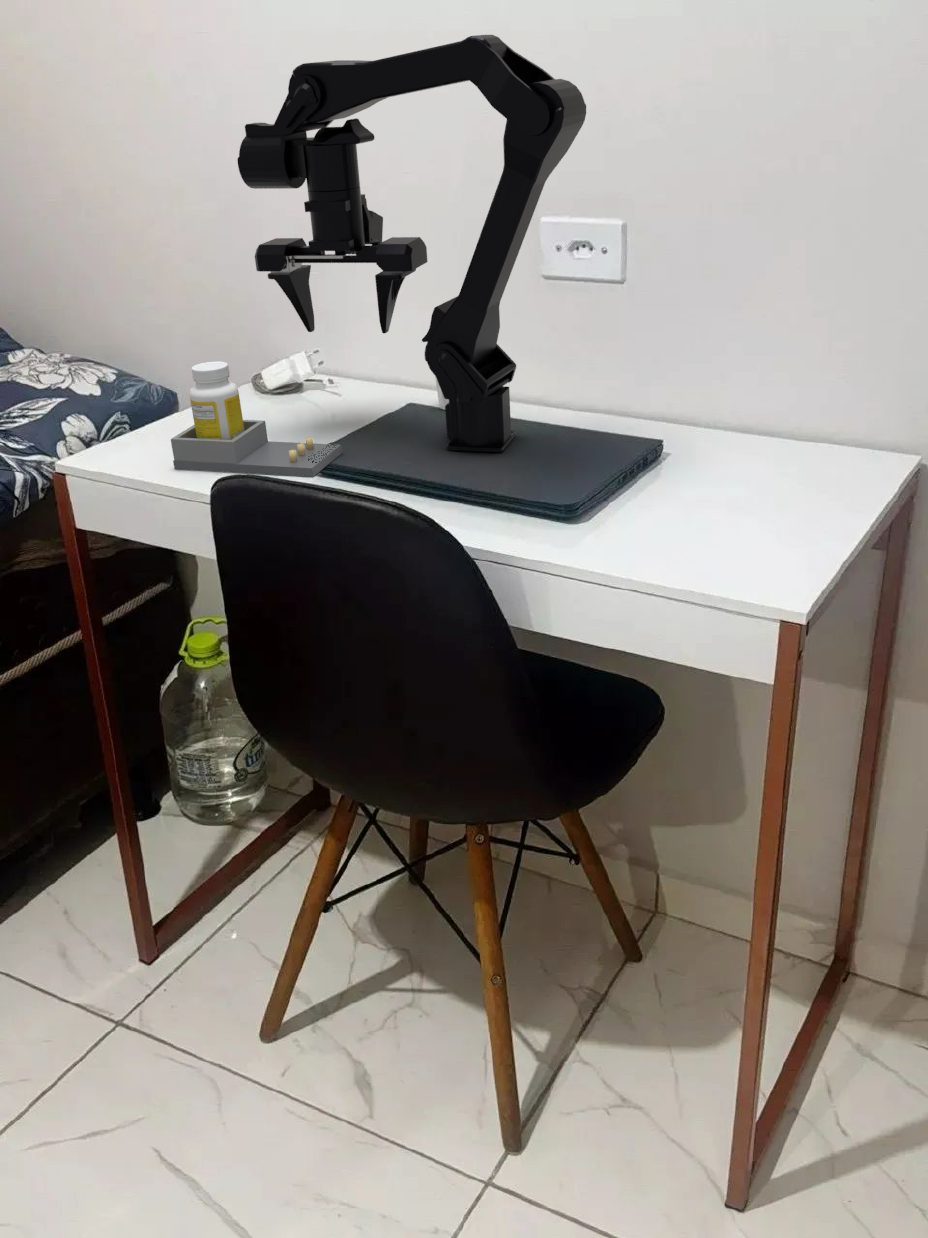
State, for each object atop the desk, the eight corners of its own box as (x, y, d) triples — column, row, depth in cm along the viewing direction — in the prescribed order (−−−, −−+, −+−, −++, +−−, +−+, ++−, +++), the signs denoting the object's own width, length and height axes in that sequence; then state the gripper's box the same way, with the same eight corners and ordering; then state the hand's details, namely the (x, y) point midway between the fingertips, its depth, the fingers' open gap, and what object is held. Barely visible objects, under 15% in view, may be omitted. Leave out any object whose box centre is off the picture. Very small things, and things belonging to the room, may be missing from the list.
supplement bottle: (242, 440, 137) (229, 356, 133) (251, 453, 133) (239, 367, 128) (195, 448, 136) (181, 363, 131) (203, 461, 131) (189, 374, 127)
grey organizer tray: (341, 453, 134) (338, 423, 133) (313, 476, 127) (309, 445, 126) (208, 446, 139) (204, 417, 138) (174, 469, 132) (169, 439, 131)
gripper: (438, 177, 133) (446, 317, 140) (287, 180, 138) (302, 315, 145) (404, 190, 123) (415, 339, 130) (244, 193, 129) (262, 336, 136)
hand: (348, 331), depth 136 cm, fingers open, 9 cm apart
